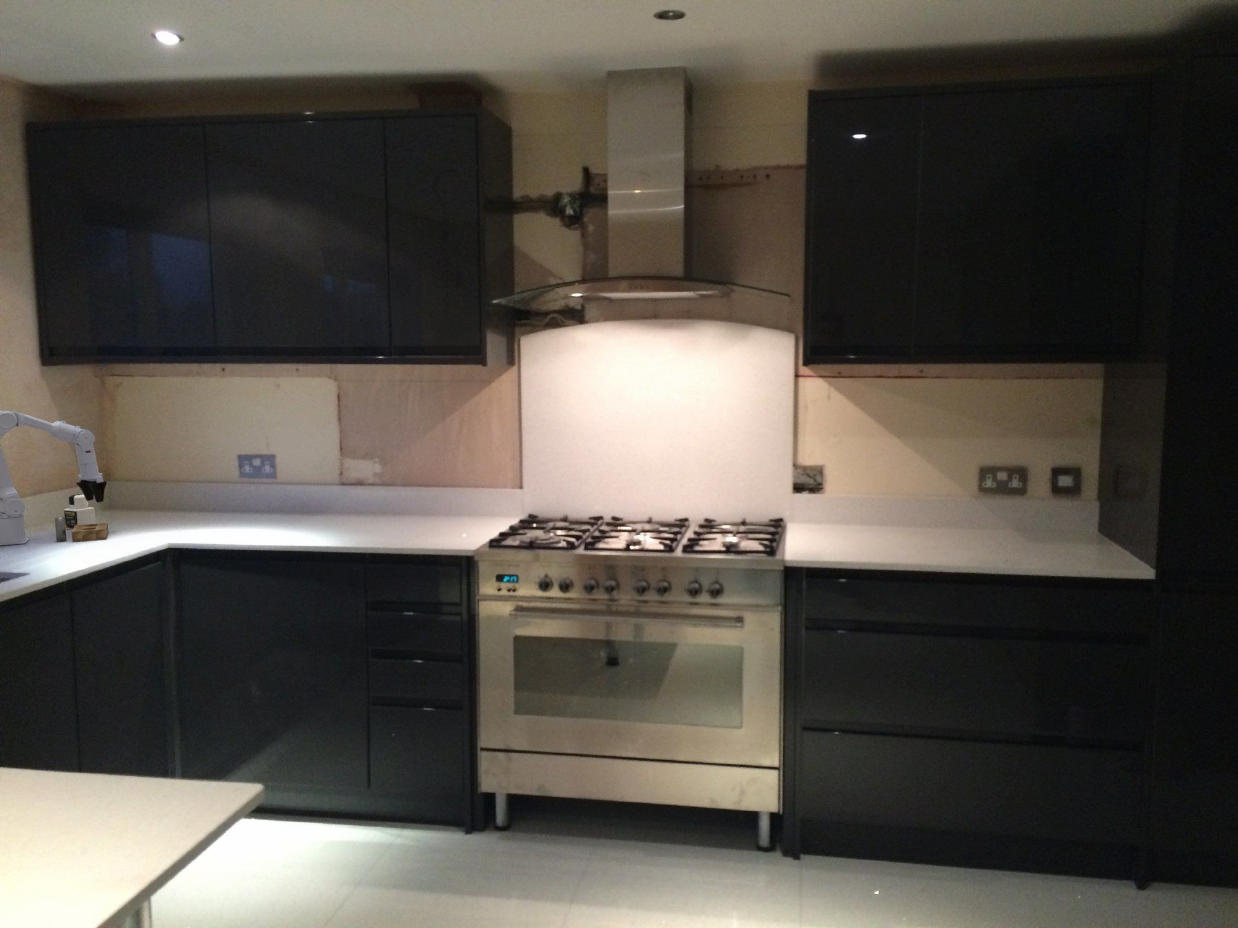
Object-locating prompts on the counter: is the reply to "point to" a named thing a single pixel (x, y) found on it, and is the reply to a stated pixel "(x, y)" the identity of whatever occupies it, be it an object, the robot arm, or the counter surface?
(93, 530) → the hole block
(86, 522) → the medicine bottle
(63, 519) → the steel pin
